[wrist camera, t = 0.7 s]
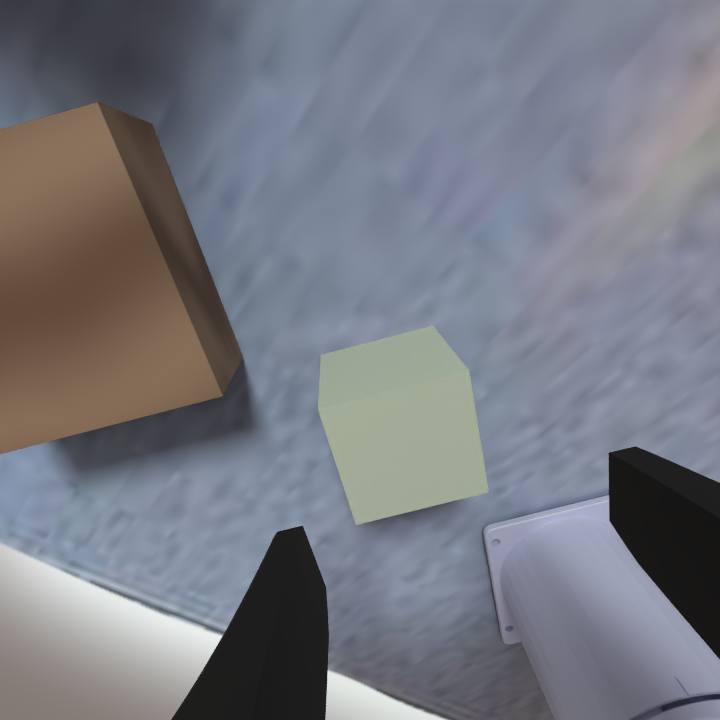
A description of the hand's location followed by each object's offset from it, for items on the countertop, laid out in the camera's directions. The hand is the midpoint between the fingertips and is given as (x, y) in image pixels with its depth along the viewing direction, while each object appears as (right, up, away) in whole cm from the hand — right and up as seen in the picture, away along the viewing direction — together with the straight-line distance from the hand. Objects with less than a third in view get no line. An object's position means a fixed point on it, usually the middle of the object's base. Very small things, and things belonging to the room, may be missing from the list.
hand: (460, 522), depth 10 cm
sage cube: (-1, +2, +9) cm, 10 cm away
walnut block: (-13, +7, +7) cm, 16 cm away
